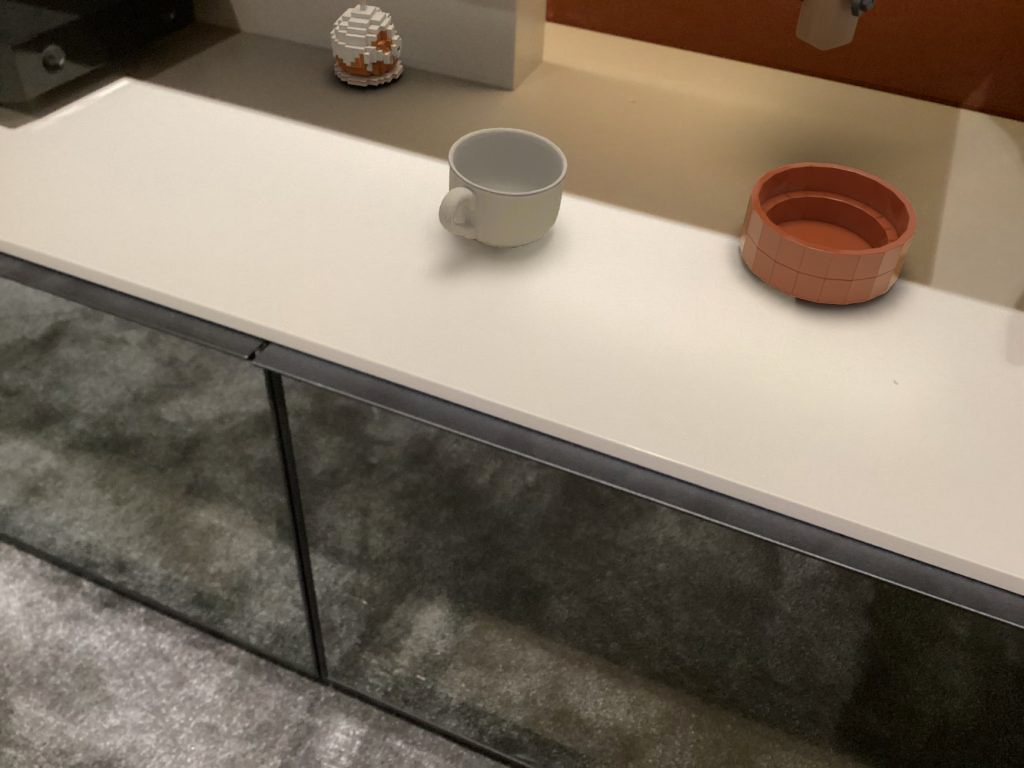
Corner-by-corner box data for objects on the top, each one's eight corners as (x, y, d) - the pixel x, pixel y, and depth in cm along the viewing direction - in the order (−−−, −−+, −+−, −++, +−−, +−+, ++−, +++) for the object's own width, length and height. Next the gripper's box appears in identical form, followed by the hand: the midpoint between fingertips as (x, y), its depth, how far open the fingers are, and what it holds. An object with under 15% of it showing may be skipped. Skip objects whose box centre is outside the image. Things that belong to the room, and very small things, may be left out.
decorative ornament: (389, 94, 110) (380, -40, 100) (325, 85, 112) (310, -48, 101) (410, 64, 116) (404, -66, 105) (349, 55, 117) (336, -74, 107)
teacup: (513, 185, 98) (515, 114, 92) (585, 235, 92) (592, 162, 86) (400, 235, 91) (394, 161, 85) (470, 292, 85) (469, 217, 80)
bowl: (904, 237, 93) (924, 183, 89) (885, 326, 83) (907, 271, 79) (756, 201, 97) (769, 149, 92) (722, 284, 87) (735, 229, 83)
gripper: (829, -213, 86) (747, -34, 88) (992, -185, 81) (901, 6, 82) (836, -161, 93) (760, 4, 95) (987, -132, 88) (903, 43, 89)
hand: (826, 4), depth 88 cm, fingers closed on wooden block, 5 cm apart
